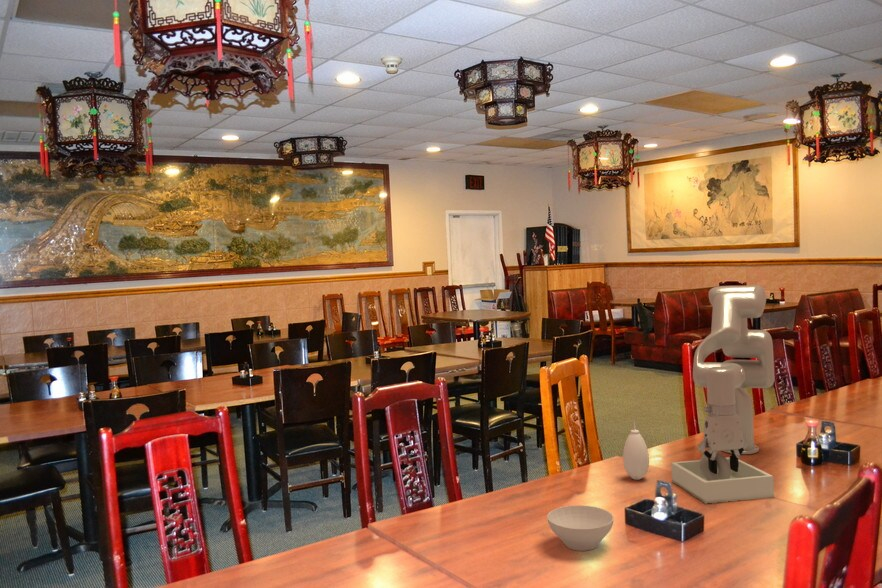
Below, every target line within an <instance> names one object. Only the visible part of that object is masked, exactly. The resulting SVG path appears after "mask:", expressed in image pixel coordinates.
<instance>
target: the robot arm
mask: <svg viewBox="0 0 882 588" xmlns="http://www.w3.org/2000/svg"><path fill="white" fill-rule="evenodd" d="M708 299H709V303H710V305H711V306H712V312H711V313H712V314H711V327H710V328H711V330H710V333H709V334H708V335H707V336H705V338H704V339H703V340H702V341H701V342H700V343H699V344H698V346H697V348H696V349H695V352H694V356H693V364H692V365H693V366H692V380H693V382H694V384H695V385H696V386H698V387H699V388H706V398H707V400H706V401H707V404H706V407H703V412H704V413H707V414H705V418H704V424H703V425H704V426H703V439H702V440H701V442H699V444H698V445H697V447H696V449H697V450H698V451H699V452H701V454H702V455H703V454H704V455H705V456H706V457H707V458H708V466H709V470H710V472H712V473H714V474H717V461H716V460H715V457H716V453H717V452H725V453H729V454H731V455H729V457H730V469H731V470H733V471H735V472H738V467H739V462H738V459H740V458H741V455H753V454H756V453H758V452H759V451H760V448H759V446H758V445H756V444H755V443H754V442H755V441H754V440H755V438H754V416H753V415H754V410H753V399H752V397H751V395H750V394H749V393H748V392H747V391H746V390H745V389H747V388H750V389H768V388H771V387H772V386H773V385H774V383H775V362H774V361H775V360H774V358H775V357H774V344H773V338H772V336H771V334H770V333H769V332H768V331H767V330H764V329H749V328H748V319H758V318H760V317H761V316H762V315H763V313H764V310H765V307H766V303H767V294H766V291H765V289H764V287H762V286H761V285H760V284H759V285H758V284H757V285H755V284H754V285H752V284H751V285H720V286H715V287H712V288H710V289H709V291H708ZM718 350H722V352H723V354H724V355H725V356H726V357H728V358H737V359H728V360H725V361H723V362H713V361H711V362H710V361H709V362H708V361H706V362H705V360H706V359H707V357H708V356H710V355H711V354H712V353H714V352H716V351H718ZM738 358H743V359H738ZM744 358H745V359H744ZM750 358H751V359H750ZM706 448H708V450H707V449H706Z"/></svg>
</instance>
